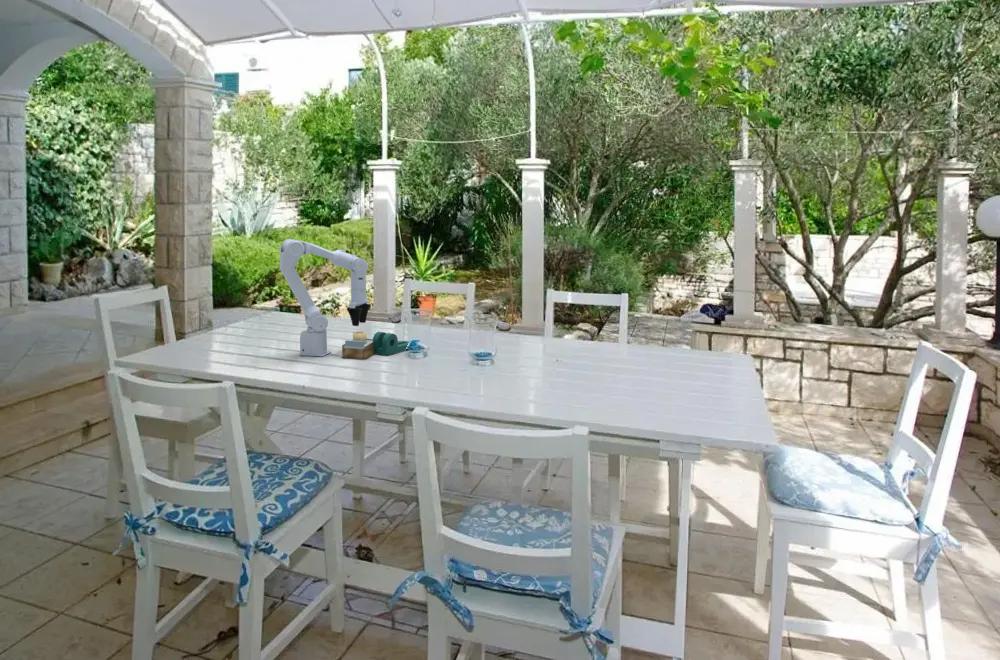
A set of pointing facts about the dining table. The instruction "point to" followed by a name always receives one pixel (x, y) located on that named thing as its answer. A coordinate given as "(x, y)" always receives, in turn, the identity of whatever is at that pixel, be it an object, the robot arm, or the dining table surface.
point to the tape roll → (360, 336)
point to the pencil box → (358, 352)
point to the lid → (356, 344)
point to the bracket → (388, 344)
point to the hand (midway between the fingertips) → (359, 324)
